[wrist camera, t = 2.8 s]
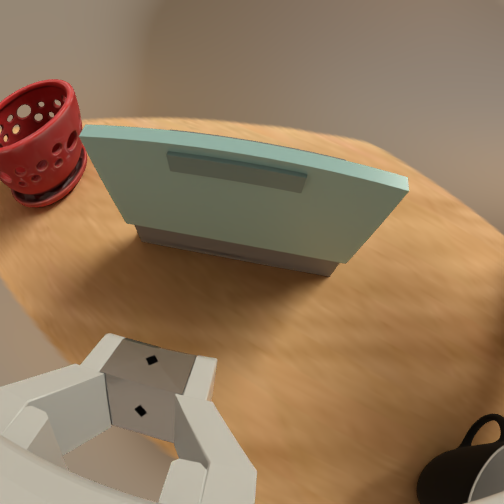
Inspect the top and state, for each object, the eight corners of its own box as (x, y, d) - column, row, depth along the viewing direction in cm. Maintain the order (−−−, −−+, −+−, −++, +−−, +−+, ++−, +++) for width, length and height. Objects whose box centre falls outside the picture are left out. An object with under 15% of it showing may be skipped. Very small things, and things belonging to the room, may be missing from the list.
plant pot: (48, 234, 33) (0, 169, 22) (2, 192, 35) (-38, 135, 24) (117, 159, 38) (94, 85, 28) (62, 131, 41) (38, 69, 30)
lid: (407, 177, 17) (409, 195, 17) (346, 253, 28) (345, 266, 28) (85, 124, 17) (76, 139, 17) (129, 213, 29) (125, 226, 28)
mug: (451, 518, 21) (510, 533, 12) (392, 513, 22) (449, 538, 13) (485, 424, 26) (548, 415, 17) (432, 409, 27) (497, 399, 18)
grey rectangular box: (333, 187, 39) (345, 159, 34) (329, 276, 33) (345, 255, 29) (174, 158, 39) (169, 129, 34) (141, 241, 33) (130, 215, 29)
